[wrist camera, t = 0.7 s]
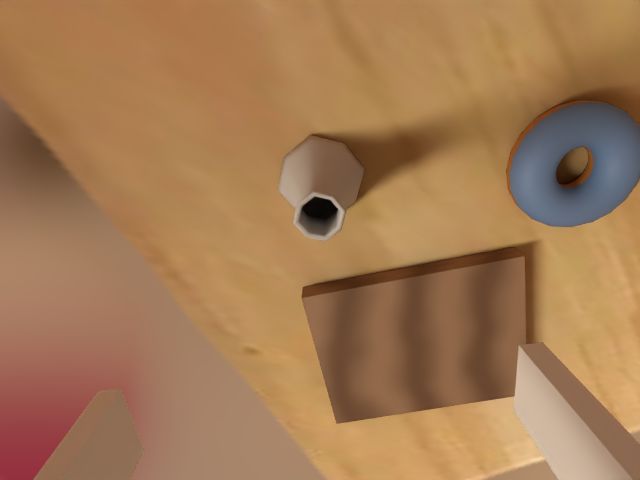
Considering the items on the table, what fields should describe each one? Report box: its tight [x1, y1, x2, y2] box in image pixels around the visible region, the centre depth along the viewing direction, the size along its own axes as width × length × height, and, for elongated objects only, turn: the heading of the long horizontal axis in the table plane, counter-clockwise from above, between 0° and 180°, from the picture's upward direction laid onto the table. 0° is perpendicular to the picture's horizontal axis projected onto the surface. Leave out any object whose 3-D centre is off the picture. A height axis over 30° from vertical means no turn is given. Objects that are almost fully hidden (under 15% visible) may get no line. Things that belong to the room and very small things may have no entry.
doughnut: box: [506, 100, 640, 227], centre depth 30 cm, size 10×10×5 cm
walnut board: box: [302, 247, 526, 424], centre depth 38 cm, size 20×16×2 cm
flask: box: [278, 135, 365, 241], centre depth 28 cm, size 7×7×10 cm
